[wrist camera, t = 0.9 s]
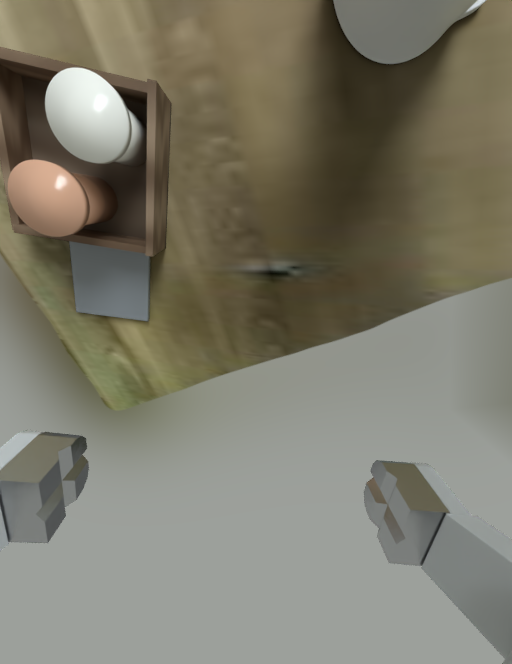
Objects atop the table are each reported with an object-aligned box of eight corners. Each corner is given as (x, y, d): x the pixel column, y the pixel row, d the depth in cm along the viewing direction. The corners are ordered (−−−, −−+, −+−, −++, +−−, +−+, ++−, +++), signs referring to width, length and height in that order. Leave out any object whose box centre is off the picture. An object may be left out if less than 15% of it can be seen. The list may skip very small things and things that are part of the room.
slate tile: (72, 239, 37) (69, 240, 36) (150, 252, 38) (148, 253, 38) (79, 309, 41) (76, 311, 40) (149, 319, 42) (147, 321, 42)
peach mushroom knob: (65, 164, 33) (0, 152, 24) (122, 176, 34) (80, 167, 25) (70, 222, 36) (14, 230, 27) (123, 231, 36) (86, 242, 27)
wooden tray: (15, 66, 29) (-40, 33, 23) (171, 103, 32) (156, 80, 26) (38, 226, 36) (-1, 232, 30) (165, 247, 38) (152, 256, 32)
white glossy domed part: (97, 99, 30) (39, 58, 21) (157, 113, 31) (126, 78, 22) (100, 166, 33) (50, 154, 24) (156, 177, 34) (127, 169, 25)
